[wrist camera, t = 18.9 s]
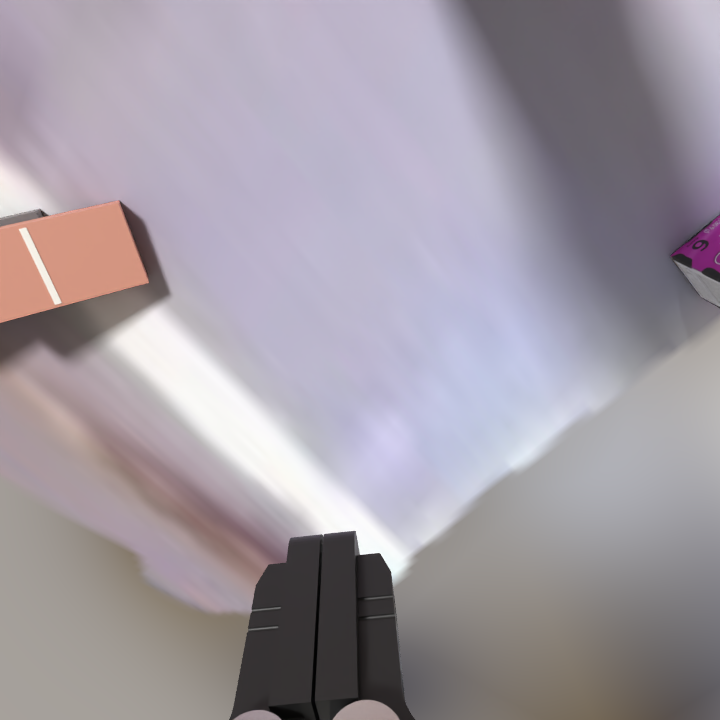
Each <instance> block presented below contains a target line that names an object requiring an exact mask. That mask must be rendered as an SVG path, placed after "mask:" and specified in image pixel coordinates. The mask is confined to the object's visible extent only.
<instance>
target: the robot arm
mask: <svg viewBox="0 0 720 720" xmlns="http://www.w3.org/2000/svg"><path fill="white" fill-rule="evenodd" d="M248 629H249V630H248V633H247V637H246V642H245V648H244V653H243V658H242V664H241V669H240V675H239V680H238V686H237V691H236V697H235V702H234V707H233V711H232V714H231V717H230V719H229V720H415V719H414V718H413V716H412V715H411V713H410V712H409V710H408V708H407V706H406V703H405V697H404V687H403V677H402V666H401V656H400V647H399V636H398V626H397V616H396V608H395V600H394V592H393V584H392V576H391V571H390V569H389V568H388V566H387V564H386V563H385V561H384V559H383V558H382V556H381V554H380V553H376V554H366V555H360V554H359V548H358V542H357V536H356V531H349V532H340V533H330V534H324V537H323V535H313V536H303V537H293V538H291V539H290V541H289V546H288V554H287V562H286V563H280V564H270V565H268V567H267V568H266V570H265V571H264V573H263V575H262V576H261V578H260V580H259V581H258V583H257V585H256V588H255V593H254V599H253V604H252V613H251V615H250V620H249V626H248Z"/></svg>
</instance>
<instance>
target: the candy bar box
mask: <svg viewBox="0 0 720 720" xmlns="http://www.w3.org/2000/svg"><path fill="white" fill-rule="evenodd" d="M670 258H671V259H672V260H673V261H674V263H675V264H676V266H677V267H678V268H679V269H680V270H681V271H682V272H683V273H684V275H685V276H686V277H687V279H688V280H689V281H690V283H691V284H692V285H693V287H694V288H695V289H696V291H697V292H698V293H699V295H700V296H701V297H702V298H703V299H705V300H706V301H708V302H710V303H712V304H713V305H715V306H717V307H719V308H720V215H719V216H718V217H716V218H715V219H714V220H713V221H712V222H710V223H709V224H708V225H707V226H706V227H705V228H703V229H702V230H701V231H700V232H698V233H697V234H696V235H695V236H694V237H692V238H691V239H690V240H689V241H688V242H686V243H685V244H684V245H683V246H682V247H680V248H679V249H678V250H677V251H676V252H674V253H673V254H672V255H671V256H670Z"/></svg>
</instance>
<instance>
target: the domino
mask: <svg viewBox="0 0 720 720" xmlns="http://www.w3.org/2000/svg"><path fill="white" fill-rule="evenodd" d="M146 283H149V280H148V275H147V272H146V270H145V267H144V265H143V262H142V259H141V257H140V254H139V251H138V249H137V246H136V244H135V241H134V238H133V236H132V233H131V230H130V228H129V225H128V222H127V220H126V217H125V215H124V212H123V209H122V207H121V204H120V201H119V200H118V201H114V202H109V203H105V204H100V205H96V206H91V207H87V208H82V209H78V210H73V211H69V212H64V213H60V214H55V215H51V216H46V217H41V218H37V219H32V220H28V221H23V222H19V223H14V224H10V225H5V226H1V227H0V323H1V322H5V321H9V320H13V319H16V318H20V317H24V316H27V315H31V314H35V313H39V312H42V311H46V310H50V309H53V308H57V307H61V306H65V305H68V304H72V303H76V302H79V301H83V300H87V299H91V298H94V297H98V296H102V295H105V294H109V293H113V292H117V291H120V290H124V289H128V288H131V287H135V286H139V285H143V284H146Z"/></svg>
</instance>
